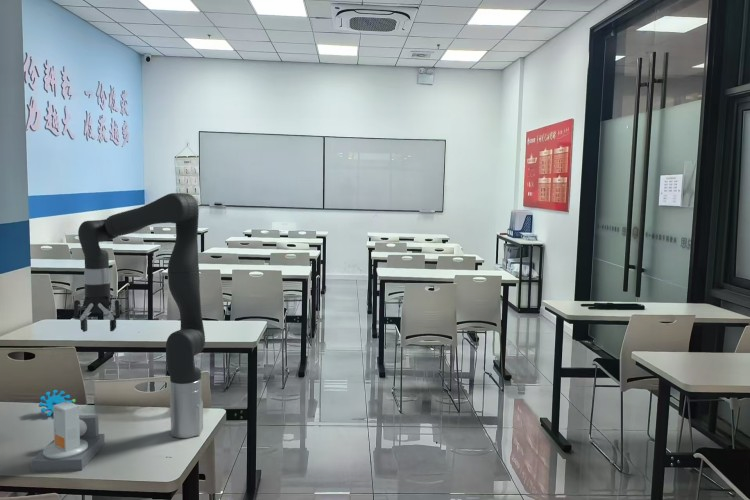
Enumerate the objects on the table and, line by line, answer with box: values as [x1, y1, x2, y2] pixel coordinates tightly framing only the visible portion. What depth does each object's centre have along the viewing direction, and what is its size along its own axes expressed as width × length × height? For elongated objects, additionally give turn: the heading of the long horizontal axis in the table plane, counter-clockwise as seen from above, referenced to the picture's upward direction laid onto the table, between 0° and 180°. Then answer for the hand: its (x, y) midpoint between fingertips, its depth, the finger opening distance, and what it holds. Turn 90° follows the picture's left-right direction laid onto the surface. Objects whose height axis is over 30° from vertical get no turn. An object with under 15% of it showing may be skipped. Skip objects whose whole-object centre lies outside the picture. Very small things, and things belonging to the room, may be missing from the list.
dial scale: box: [30, 414, 106, 473], centre depth 162 cm, size 13×17×9 cm
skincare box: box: [52, 400, 80, 451], centre depth 160 cm, size 6×4×12 cm
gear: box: [38, 389, 77, 417], centre depth 195 cm, size 11×6×10 cm
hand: (98, 331), depth 187 cm, fingers open, 8 cm apart
